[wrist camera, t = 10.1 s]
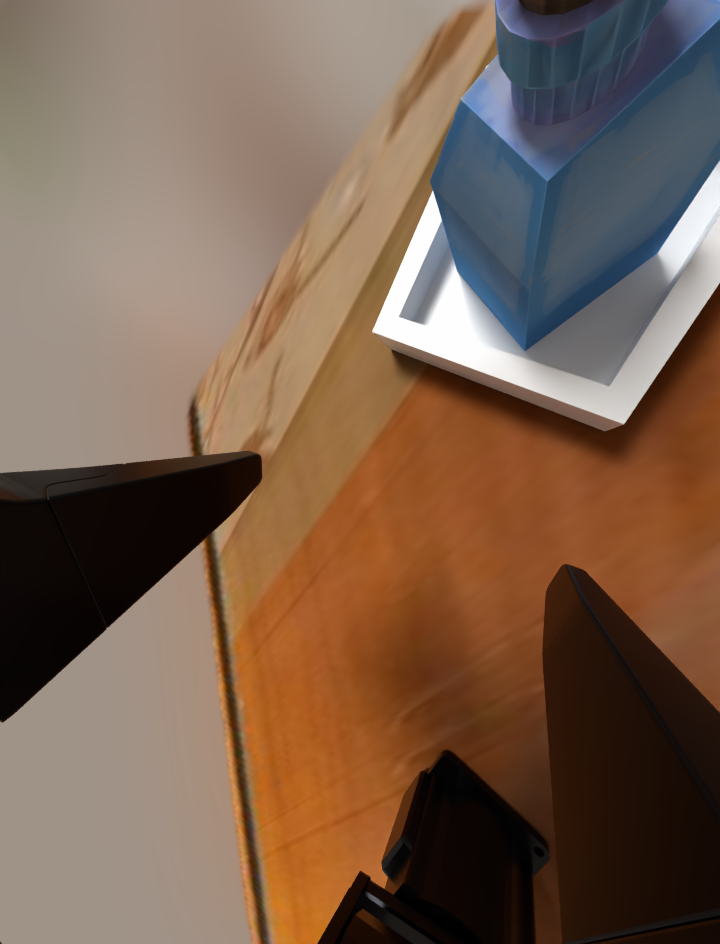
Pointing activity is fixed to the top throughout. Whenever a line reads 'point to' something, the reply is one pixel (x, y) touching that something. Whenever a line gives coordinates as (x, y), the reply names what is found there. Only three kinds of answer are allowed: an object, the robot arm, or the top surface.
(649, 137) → the perfume bottle
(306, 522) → the top surface
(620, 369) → the tray
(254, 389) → the top surface
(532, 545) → the top surface
